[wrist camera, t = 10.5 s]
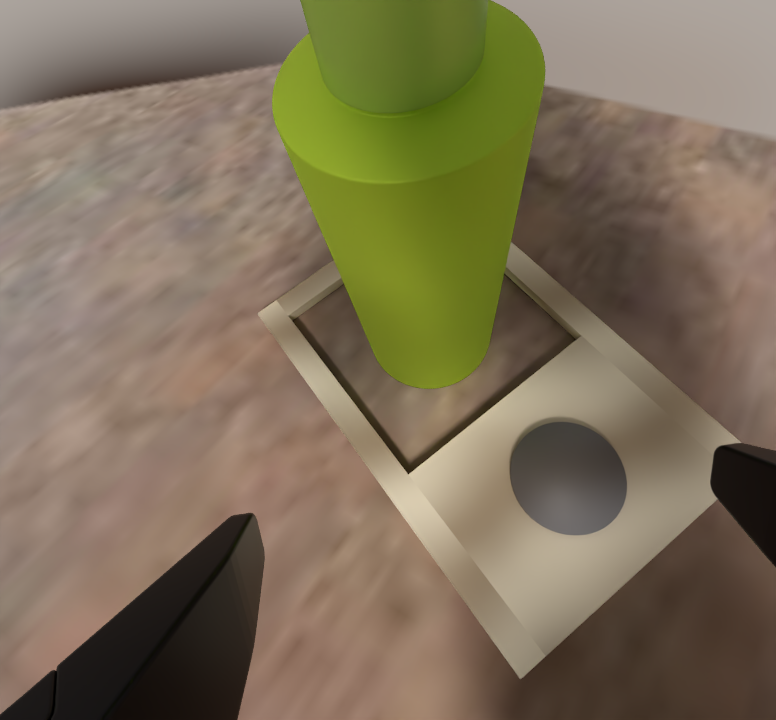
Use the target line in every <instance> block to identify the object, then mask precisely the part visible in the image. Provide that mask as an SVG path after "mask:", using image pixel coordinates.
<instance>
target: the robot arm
mask: <svg viewBox="0 0 776 720" xmlns="http://www.w3.org/2000/svg"><path fill="white" fill-rule="evenodd" d="M710 485H711V489H712V491H713V493H714V495H715V496H716V498H717V499H718V500H719V501H720V502H721V504H722V505H723V506H724V507H725V508H726V509H727V511H728V512H729V513H730V514H731V515H732V517H733V518H734V519H735V520H736V521H737V522H738V524H739V525H740V526H741V527H742V528H743V530H744V531H745V532H746V533H747V534H748V536H749V537H750V538H751V539H752V540H753V541H754V543H755V544H756V545H757V546H758V547H759V549H760V550H761V551H762V552H763V553H764V554H765V556H766V557H767V558H768V559H769V560H770V561H771V562H772V564H773V565H774V566H775V567H776V451H774V450H770V449H765V448H761V447H757V446H752V445H748V444H744V443H734V444H727V445H721V446H719V447H717V448H716V450H715V451H714V455H713V463H712V470H711V478H710ZM264 559H265V556H264V547H263V543H262V539H261V535H260V530H259V526H258V522H257V519H256V516H255V515H254V514H253V513H246V514H239V515H233V516H231V517H229V518H228V519H227V520H226V521H225V522H223V523H222V524H221V525H220V526H219V527H218V528H217V529H215V530H214V531H213V532H212V533H211V534H210V535H208V536H207V537H206V538H205V539H204V540H203V541H201V542H200V543H199V544H198V545H197V546H196V547H195V548H193V549H192V550H191V551H190V552H189V553H188V554H186V555H185V556H184V557H183V558H182V559H181V560H179V561H178V562H177V563H176V564H175V565H174V566H172V567H171V568H170V569H169V570H168V571H167V572H166V573H164V574H163V575H162V576H161V577H160V578H159V579H157V580H156V581H155V582H154V583H153V584H152V585H150V586H149V587H148V588H147V589H146V590H145V591H144V592H142V593H141V594H140V595H139V596H138V597H137V598H135V599H134V600H133V601H132V602H131V603H130V604H128V605H127V606H126V607H125V608H124V609H123V610H121V611H120V612H119V613H118V614H117V615H116V616H115V617H113V618H112V619H111V620H110V621H109V622H108V623H106V624H105V625H104V626H103V627H102V628H101V629H99V630H98V631H97V632H96V633H95V634H94V635H92V636H91V637H90V638H89V639H88V640H87V641H86V642H84V643H83V644H82V645H81V646H80V647H79V648H77V649H76V650H75V651H74V652H73V653H72V654H70V655H69V656H68V657H67V658H66V659H65V660H63V661H62V662H61V663H60V664H59V665H58V666H57V671H55V670H52V671H51V672H49V673H48V674H47V675H46V676H45V677H44V678H42V679H41V680H40V681H39V682H38V683H37V684H36V685H34V686H33V687H32V688H31V689H30V690H29V691H27V692H26V693H25V694H24V695H23V696H22V697H20V698H19V699H18V700H17V701H16V702H14V703H13V704H12V705H11V706H10V707H8V708H7V709H6V710H5V711H4V712H2V713H1V714H0V720H237V719H238V715H239V710H240V706H241V702H242V697H243V693H244V688H245V684H246V680H247V675H248V671H249V667H250V662H251V658H252V653H253V648H254V642H255V635H256V628H257V619H258V611H259V603H260V594H261V586H262V578H263V569H264Z"/></svg>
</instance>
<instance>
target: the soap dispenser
mask: <svg viewBox="0 0 776 720" xmlns="http://www.w3.org/2000/svg"><path fill="white" fill-rule="evenodd" d="M300 1H301V4H302V8H303V11H304V15H305V19H306V22H307V26H308V29H309V33H308V34H307V35H306V36H305V37H304V38H303V39H302V40H301V41H300V42H299V43H298V44H297V45H296V46H295V48H294V49H293V50H292V51H291V53H290V54H289V55H288V57H287V58H286V60H285V62H284V63H283V65H282V67H281V69H280V71H279V73H278V76H277V78H276V81H275V85H274V90H273V97H272V109H273V116H274V120H275V124H276V127H277V129H278V132H279V134H280V136H281V139H282V141H283V143H284V146H285V148H286V150H287V153H288V155H289V157H290V160H291V162H292V164H293V167H294V169H295V171H296V174H297V176H298V178H299V181H300V183H301V185H302V188H303V190H304V192H305V195H306V197H307V199H308V201H309V204H310V206H311V208H312V211H313V213H314V215H315V218H316V220H317V222H318V225H319V227H320V229H321V232H322V234H323V236H324V239H325V241H326V243H327V246H328V248H329V250H330V253H331V255H332V257H333V260H334V262H335V264H336V267H337V269H338V271H339V274H340V276H341V278H342V280H343V283H344V285H345V287H346V290H347V292H348V294H349V297H350V299H351V301H352V304H353V306H354V308H355V311H356V313H357V315H358V318H359V320H360V322H361V325H362V327H363V329H364V332H365V334H366V336H367V339H368V341H369V343H370V346H371V348H372V350H373V353H374V355H375V357H376V359H377V361H378V362H379V364H380V365H381V367H382V368H383V369H384V370H385V371H386V372H387V373H388V374H389V375H390V376H392V377H393V378H394V379H396V380H398V381H399V382H401V383H404V384H406V385H409V386H412V387H417V388H424V389H434V388H442V387H446V386H449V385H452V384H455V383H457V382H459V381H461V380H463V379H464V378H466V377H467V376H469V375H470V374H471V373H472V372H473V371H474V370H475V369H476V368H477V367H478V366H479V365H480V363H481V362H482V360H483V359H484V357H485V355H486V353H487V350H488V347H489V343H490V339H491V334H492V329H493V324H494V320H495V315H496V310H497V305H498V301H499V296H500V291H501V286H502V282H503V277H504V272H505V268H506V263H507V258H508V253H509V249H510V244H511V239H512V234H513V230H514V225H515V220H516V216H517V211H518V206H519V201H520V197H521V192H522V187H523V182H524V178H525V173H526V168H527V163H528V159H529V154H530V149H531V145H532V140H533V135H534V130H535V126H536V121H537V116H538V111H539V107H540V102H541V97H542V93H543V88H544V81H545V62H544V56H543V52H542V49H541V47H540V44H539V42H538V40H537V38H536V37H535V35H534V34H533V32H532V31H531V29H530V28H529V27H528V26H527V25H526V24H525V22H523V21H522V20H521V19H520V18H519V17H518V16H517V15H515V14H514V13H513V12H511V11H510V10H508V9H506V8H505V7H503V6H501V5H499V4H497V3H495V2H493V1H491V0H300Z"/></svg>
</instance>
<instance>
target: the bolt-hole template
mask: <svg viewBox="0 0 776 720" xmlns="http://www.w3.org/2000/svg"><path fill="white" fill-rule="evenodd" d="M504 273H505V274H506V275H507V276H508V277H509V278H510V279H511V280H512V281H513V282H514V283H515V284H517V285H518V286H519V287H520V288H521V289H522V290H523V291H524V292H525V293H526V294H527V295H529V296H530V297H531V298H532V299H533V300H534V301H535V302H536V303H537V304H538V305H539V306H541V307H542V308H543V309H544V310H545V311H546V312H547V313H548V314H549V315H550V316H551V317H552V318H554V319H555V320H556V321H557V322H558V323H559V324H560V325H561V326H562V327H563V328H564V329H566V330H567V331H568V332H569V333H570V334H571V335H572V336H573V337H574V338H575V339H576V340H575V341H574V342H573V343H572V344H570V345H569V346H568V347H567V348H565V349H564V350H563V351H562V352H560V353H559V354H558V355H557V356H555V357H554V358H553V359H552V360H550V361H549V362H548V363H547V364H545V365H544V366H543V367H542V368H540V369H539V370H538V371H537V372H535V373H534V374H533V375H532V376H530V377H529V378H528V379H527V380H526V381H524V382H523V383H522V384H521V385H519V386H518V387H517V388H516V389H514V390H513V391H512V392H511V393H509V394H508V395H507V396H506V397H504V398H503V399H502V400H501V401H499V402H498V403H497V404H496V405H494V406H493V407H492V408H491V409H489V410H488V411H487V412H486V413H484V414H483V415H482V416H481V417H479V418H478V419H477V420H476V421H474V422H473V423H472V424H471V425H469V426H468V427H467V428H466V429H464V430H463V431H462V432H461V433H460V434H458V435H457V436H456V437H455V438H453V439H452V440H451V441H450V442H448V443H447V444H446V445H445V446H443V447H442V448H441V449H440V450H438V451H437V452H436V453H435V454H433V455H432V456H431V457H430V458H428V459H427V460H426V461H425V462H423V463H422V464H421V465H420V466H418V467H417V468H416V469H415V470H413V471H412V472H411V473H410V474H407V472H406V471H405V470H404V468H403V467H402V466H401V464H400V463H399V462H398V460H397V459H396V458H395V456H394V455H393V454H392V452H391V451H390V450H389V448H388V447H387V446H386V444H385V443H384V442H383V440H382V439H381V438H380V437H379V435H378V434H377V433H376V431H375V430H374V429H373V427H372V426H371V425H370V423H369V422H368V421H367V419H366V418H365V417H364V415H363V414H362V413H361V411H360V410H359V409H358V407H357V406H356V405H355V403H354V402H353V401H352V400H351V398H350V397H349V396H348V394H347V393H346V392H345V390H344V389H343V388H342V386H341V385H340V384H339V382H338V381H337V380H336V378H335V377H334V376H333V374H332V373H331V372H330V370H329V369H328V368H327V366H326V365H325V364H324V363H323V361H322V360H321V359H320V357H319V356H318V355H317V353H316V352H315V351H314V349H313V348H312V347H311V345H310V344H309V343H308V341H307V340H306V339H305V337H304V336H303V335H302V333H301V332H300V331H299V329H298V328H297V327H296V326H295V324H294V323H293V322H292V321H293V320H294V319H296V318H297V317H298V316H300V315H301V314H302V313H304V312H305V311H307V310H308V309H309V308H311V307H312V306H314V305H315V304H316V303H318V302H319V301H321V300H322V299H323V298H325V297H326V296H328V295H329V294H330V293H332V292H333V291H335V290H336V289H337V288H339V287H340V286H342V285H343V284H344V283H343V280H342V278H341V276H340V274H339V271H338V269H337V267H336V264H335V262H334V260H332V261H331V262H330V263H328V264H327V265H325V266H324V267H323V268H321V269H320V270H318V271H317V272H315V273H314V274H313V275H311V276H310V277H308V278H307V279H306V280H304V281H303V282H301V283H300V284H298V285H297V286H296V287H294V288H293V289H291V290H290V291H289V292H287V293H286V294H284V295H283V296H281V297H280V298H279V299H277V300H276V301H274V302H273V303H272V304H270V305H269V306H267V307H266V308H264V309H263V310H262V311H260V312H259V313H257V314H258V315H259V317H260V318H261V320H262V321H263V322H264V324H265V325H266V327H267V328H268V329H269V331H270V332H271V334H272V335H273V336H274V338H275V339H276V340H277V342H278V343H279V345H280V346H281V347H282V349H283V350H284V352H285V353H286V354H287V356H288V357H289V359H290V360H291V361H292V363H293V364H294V365H295V367H296V368H297V370H298V371H299V372H300V374H301V375H302V377H303V378H304V379H305V381H306V382H307V384H308V385H309V386H310V388H311V389H312V390H313V392H314V393H315V395H316V396H317V397H318V399H319V400H320V402H321V403H322V404H323V406H324V407H325V409H326V410H327V411H328V413H329V414H330V415H331V417H332V418H333V420H334V421H335V422H336V424H337V425H338V427H339V428H340V429H341V431H342V432H343V434H344V435H345V436H346V438H347V439H348V440H349V442H350V443H351V445H352V446H353V447H354V449H355V450H356V452H357V453H358V454H359V456H360V457H361V459H362V460H363V461H364V463H365V464H366V465H367V467H368V468H369V470H370V471H371V472H372V474H373V475H374V477H375V478H376V479H377V481H378V482H379V484H380V485H381V486H382V488H383V489H384V490H385V492H386V493H387V495H388V496H389V497H390V499H391V500H392V502H393V503H394V504H395V506H396V507H397V509H398V510H399V511H400V513H401V514H402V516H403V517H404V518H405V520H406V521H407V522H408V524H409V525H410V527H411V528H412V529H413V531H414V532H415V534H416V535H417V536H418V538H419V539H420V541H421V542H422V543H423V545H424V546H425V547H426V549H427V550H428V552H429V553H430V554H431V556H432V557H433V559H434V560H435V561H436V563H437V564H438V566H439V567H440V568H441V570H442V571H443V572H444V574H445V575H446V577H447V578H448V579H449V581H450V582H451V584H452V585H453V586H454V588H455V589H456V591H457V592H458V593H459V595H460V596H461V597H462V599H463V600H464V602H465V603H466V604H467V606H468V607H469V609H470V610H471V611H472V613H473V614H474V616H475V617H476V618H477V620H478V621H479V622H480V624H481V625H482V627H483V628H484V629H485V631H486V632H487V634H488V635H489V636H490V638H491V639H492V641H493V642H494V643H495V645H496V646H497V647H498V649H499V650H500V652H501V653H502V654H503V656H504V657H505V659H506V660H507V661H508V663H509V664H510V666H511V667H512V668H513V670H514V671H515V672H516V674H517V675H518V677H519V678H520V679H522V678H523V677H524V676H525V675H526V674H527V673H528V672H529V671H530V670H531V669H532V668H534V667H535V666H536V665H537V664H538V663H539V662H540V661H541V660H542V659H543V658H544V657H546V656H547V655H548V654H549V653H550V652H551V651H552V650H553V649H554V648H555V647H557V646H558V645H559V644H560V643H561V642H562V641H563V640H564V639H565V638H566V637H567V636H569V635H570V634H571V633H572V632H573V631H574V630H575V629H576V628H577V627H578V626H579V625H581V624H582V623H583V622H584V621H585V620H586V619H587V618H588V617H589V616H590V615H591V614H593V613H594V612H595V611H596V610H597V609H598V608H599V607H600V606H601V605H602V604H604V603H605V602H606V601H607V600H608V599H609V598H610V597H611V596H612V595H613V594H614V593H616V592H617V591H618V590H619V589H620V588H621V587H622V586H623V585H624V584H625V583H626V582H628V581H629V580H630V579H631V578H632V577H633V576H634V575H635V574H636V573H637V572H639V571H640V570H641V569H642V568H643V567H644V566H645V565H646V564H647V563H648V562H649V561H651V560H652V559H653V558H654V557H655V556H656V555H657V554H658V553H659V552H660V551H661V550H663V549H664V548H665V547H666V546H667V545H668V544H669V543H670V542H671V541H672V540H673V539H675V538H676V537H677V536H678V535H679V534H680V533H681V532H682V531H683V530H684V529H686V528H687V527H688V526H689V525H690V524H691V523H692V522H693V521H694V520H695V519H696V518H698V517H699V516H700V515H701V514H702V513H703V512H704V511H705V510H706V509H707V508H708V507H710V506H711V505H712V504H713V503H714V502H715V501H716V500H717V498H716V496H715V495H714V493H713V491H712V489H711V485H710V478H711V470H712V463H713V455H714V451H715V450H716V448H717V447H719V446H721V445H727V444H734V443H741V442H740V441H739V440H738V439H737V438H735V437H734V436H733V435H732V434H731V433H730V432H728V431H727V430H726V429H725V428H724V427H723V426H722V425H720V424H719V423H718V422H717V421H716V420H715V419H714V418H712V417H711V416H710V415H709V414H708V413H707V412H706V411H704V410H703V409H702V408H701V407H700V406H699V405H698V404H696V403H695V402H694V401H693V400H692V399H691V398H690V397H688V396H687V395H686V394H685V393H684V392H683V391H682V390H680V389H679V388H678V387H677V386H676V385H675V384H674V383H672V382H671V381H670V380H669V379H668V378H667V377H666V376H664V375H663V374H662V373H661V372H660V371H659V370H658V369H656V368H655V367H654V366H653V365H652V364H651V363H649V362H648V361H647V360H646V359H645V358H644V357H643V356H641V355H640V354H639V353H638V352H637V351H636V350H635V349H633V348H632V347H631V346H630V345H629V344H628V343H627V342H625V341H624V340H623V339H622V338H621V337H620V336H619V335H617V334H616V333H615V332H614V331H613V330H612V329H611V328H609V327H608V326H607V325H606V324H605V323H604V322H603V321H601V320H600V319H599V318H598V317H597V316H596V315H595V314H593V313H592V312H591V311H590V310H589V309H588V308H587V307H585V306H584V305H583V304H582V303H581V302H580V301H579V300H577V299H576V298H575V297H574V296H573V295H572V294H571V293H569V292H568V291H567V290H566V289H565V288H564V287H562V286H561V285H560V284H559V283H558V282H557V281H556V280H554V279H553V278H552V277H551V276H550V275H549V274H548V273H546V272H545V271H544V270H543V269H542V268H541V267H540V266H538V265H537V264H536V263H535V262H534V261H533V260H532V259H530V258H529V257H528V256H527V255H526V254H525V253H524V252H522V251H521V250H520V249H519V248H518V247H517V246H516V245H514V244H513V243H512V242H511V244H510V249H509V253H508V258H507V263H506V268H505V272H504Z"/></svg>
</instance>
